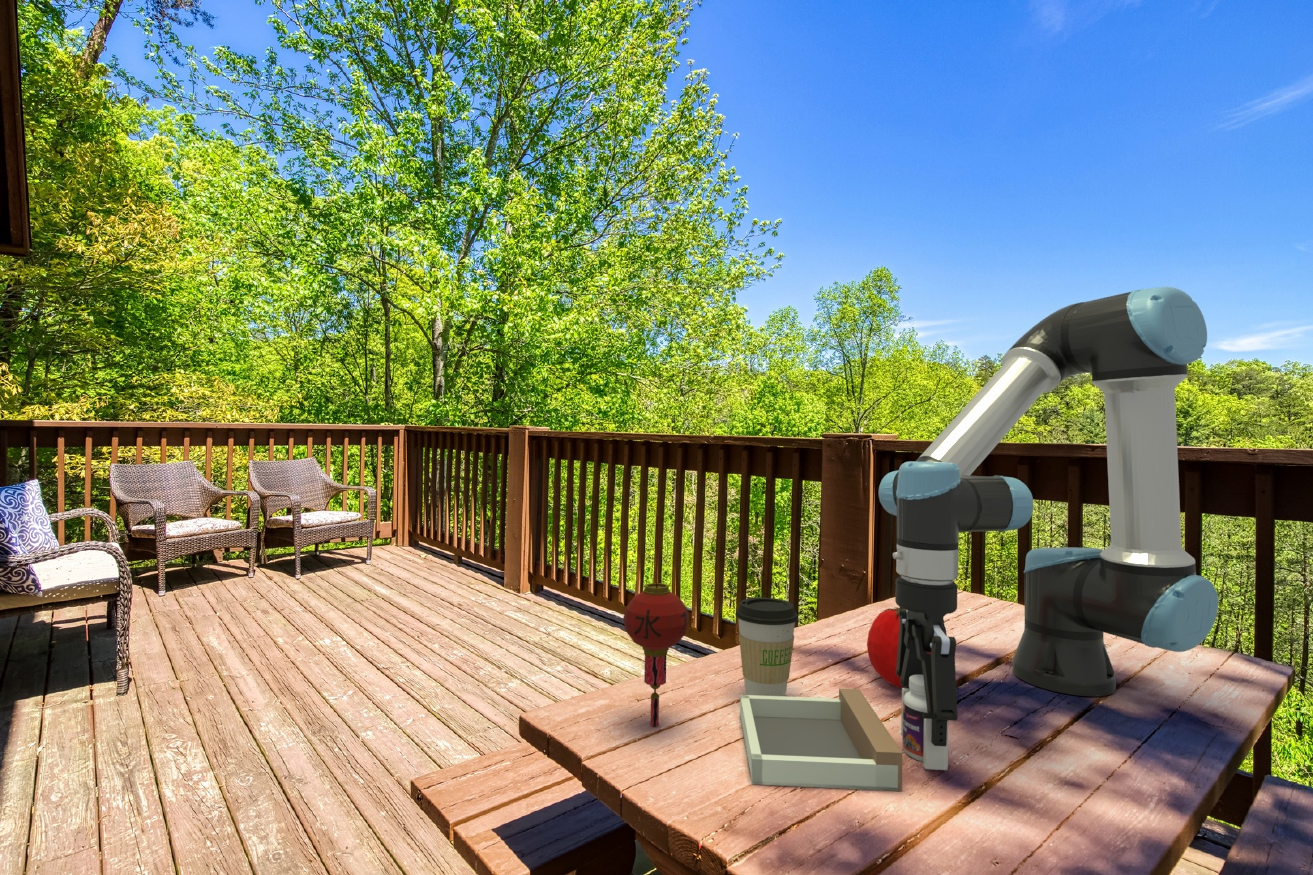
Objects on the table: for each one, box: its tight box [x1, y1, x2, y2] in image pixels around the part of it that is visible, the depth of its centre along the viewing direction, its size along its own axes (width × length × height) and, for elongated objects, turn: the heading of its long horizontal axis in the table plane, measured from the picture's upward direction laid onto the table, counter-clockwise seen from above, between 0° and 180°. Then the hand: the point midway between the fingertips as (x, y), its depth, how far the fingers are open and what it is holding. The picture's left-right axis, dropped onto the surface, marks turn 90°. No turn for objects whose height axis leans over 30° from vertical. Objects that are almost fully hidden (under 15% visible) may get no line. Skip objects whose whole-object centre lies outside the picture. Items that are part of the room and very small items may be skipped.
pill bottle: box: [902, 675, 927, 763], centre depth 83 cm, size 5×5×10 cm
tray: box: [739, 687, 903, 792], centre depth 84 cm, size 18×19×4 cm
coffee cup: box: [735, 596, 799, 697], centre depth 100 cm, size 10×10×15 cm
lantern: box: [622, 514, 690, 728], centre depth 90 cm, size 10×10×30 cm
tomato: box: [866, 606, 931, 689], centre depth 106 cm, size 12×12×13 cm
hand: (923, 751), depth 83 cm, fingers open, 8 cm apart
